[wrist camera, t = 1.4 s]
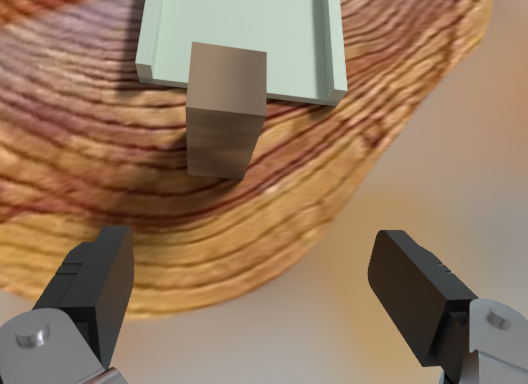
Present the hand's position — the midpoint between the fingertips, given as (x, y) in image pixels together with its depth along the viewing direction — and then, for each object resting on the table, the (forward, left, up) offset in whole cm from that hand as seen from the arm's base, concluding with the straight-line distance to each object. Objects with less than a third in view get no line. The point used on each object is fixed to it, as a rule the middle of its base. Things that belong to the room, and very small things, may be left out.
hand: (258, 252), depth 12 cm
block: (-1, +11, -16) cm, 19 cm away
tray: (+1, +26, -16) cm, 31 cm away
